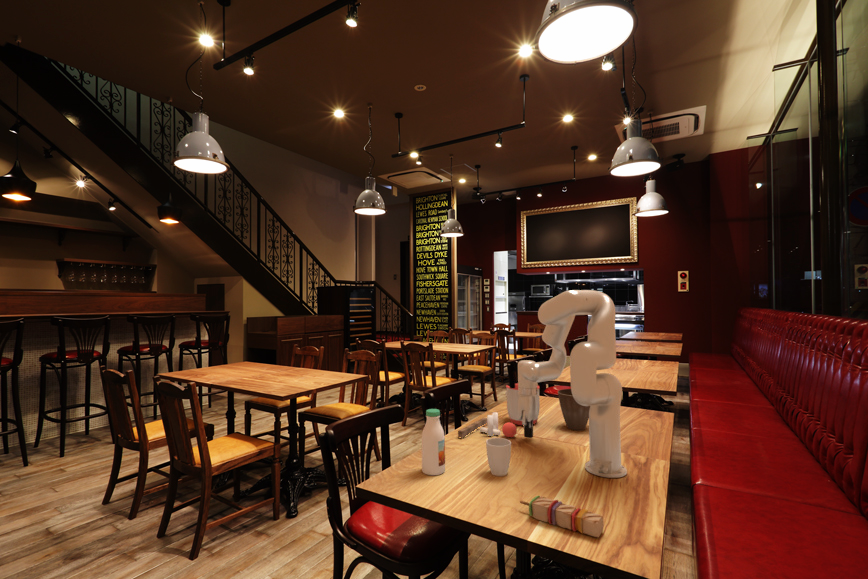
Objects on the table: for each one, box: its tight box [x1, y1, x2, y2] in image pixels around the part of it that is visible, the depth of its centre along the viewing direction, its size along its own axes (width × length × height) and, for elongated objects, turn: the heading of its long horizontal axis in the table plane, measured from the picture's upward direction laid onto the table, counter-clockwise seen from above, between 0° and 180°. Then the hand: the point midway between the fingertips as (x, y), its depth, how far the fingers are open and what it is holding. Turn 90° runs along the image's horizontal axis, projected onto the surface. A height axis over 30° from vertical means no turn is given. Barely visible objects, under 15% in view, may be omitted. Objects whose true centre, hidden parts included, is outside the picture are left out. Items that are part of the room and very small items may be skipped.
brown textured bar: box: [457, 417, 487, 439], centre depth 178 cm, size 24×2×3 cm, turn 147°
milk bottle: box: [421, 408, 446, 476], centre depth 135 cm, size 8×8×20 cm
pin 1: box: [486, 414, 494, 437], centre depth 171 cm, size 2×2×8 cm
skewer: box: [519, 495, 604, 538], centre depth 102 cm, size 21×6×5 cm, turn 52°
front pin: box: [479, 427, 501, 436], centre depth 174 cm, size 2×2×8 cm
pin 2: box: [491, 411, 499, 430], centre depth 176 cm, size 2×2×8 cm
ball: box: [501, 421, 518, 438], centre depth 170 cm, size 6×6×6 cm
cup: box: [485, 437, 512, 477], centre depth 133 cm, size 8×8×10 cm
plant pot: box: [557, 388, 590, 432], centre depth 181 cm, size 15×15×16 cm
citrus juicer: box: [505, 382, 541, 426], centre depth 192 cm, size 16×17×20 cm
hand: (528, 437), depth 165 cm, fingers closed
